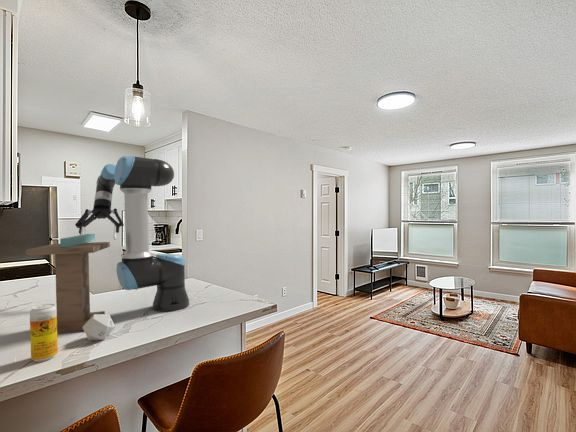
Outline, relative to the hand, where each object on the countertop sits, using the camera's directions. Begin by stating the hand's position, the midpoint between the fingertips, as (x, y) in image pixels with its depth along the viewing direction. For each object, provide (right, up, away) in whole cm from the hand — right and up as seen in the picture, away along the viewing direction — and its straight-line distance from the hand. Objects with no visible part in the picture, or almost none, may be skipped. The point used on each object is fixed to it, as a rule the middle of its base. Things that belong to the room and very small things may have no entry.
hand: (98, 239), depth 146 cm
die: (+27, -30, -43) cm, 59 cm away
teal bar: (+7, 0, -24) cm, 25 cm away
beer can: (+19, -30, -57) cm, 67 cm away
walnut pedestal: (+10, -30, -30) cm, 44 cm away
